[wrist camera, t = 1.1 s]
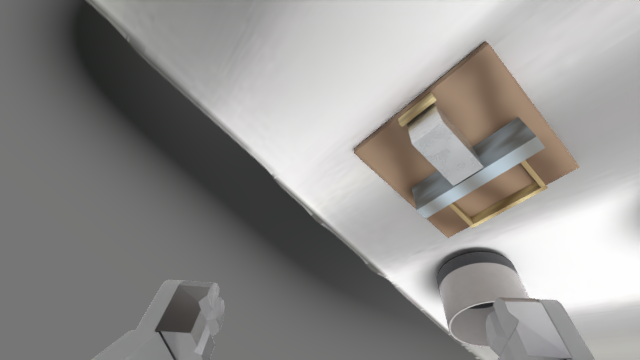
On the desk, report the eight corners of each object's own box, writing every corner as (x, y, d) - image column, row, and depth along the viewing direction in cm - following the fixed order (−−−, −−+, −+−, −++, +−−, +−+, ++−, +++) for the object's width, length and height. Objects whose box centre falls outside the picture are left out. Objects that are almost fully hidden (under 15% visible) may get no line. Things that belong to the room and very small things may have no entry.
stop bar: (432, 99, 39) (442, 121, 35) (469, 141, 42) (483, 167, 37) (405, 120, 41) (412, 144, 37) (442, 159, 44) (453, 186, 39)
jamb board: (485, 41, 36) (505, 56, 31) (574, 162, 44) (602, 190, 39) (354, 148, 46) (353, 173, 41) (446, 232, 53) (455, 262, 48)
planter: (421, 278, 61) (431, 332, 52) (466, 235, 54) (487, 290, 45) (478, 299, 63) (496, 354, 55) (529, 261, 56) (559, 318, 47)
